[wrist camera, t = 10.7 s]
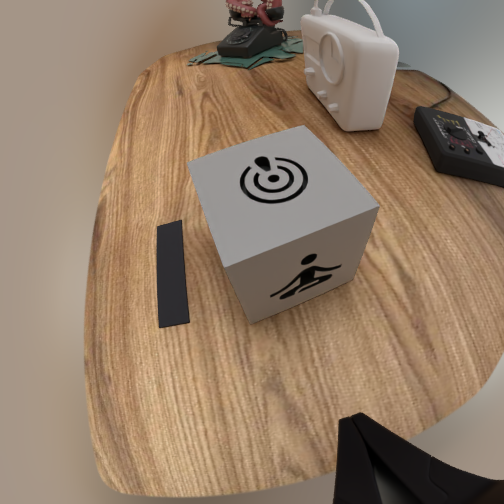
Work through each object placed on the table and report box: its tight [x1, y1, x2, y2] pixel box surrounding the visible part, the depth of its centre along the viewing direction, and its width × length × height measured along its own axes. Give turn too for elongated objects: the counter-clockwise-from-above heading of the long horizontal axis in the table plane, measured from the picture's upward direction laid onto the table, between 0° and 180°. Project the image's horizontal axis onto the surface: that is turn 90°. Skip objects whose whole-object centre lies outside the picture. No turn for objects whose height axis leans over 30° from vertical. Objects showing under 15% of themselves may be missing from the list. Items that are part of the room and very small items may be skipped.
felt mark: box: [157, 220, 190, 328], centre depth 27 cm, size 12×3×1 cm, turn 11°
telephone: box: [187, 0, 303, 70], centre depth 55 cm, size 35×32×20 cm
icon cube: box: [187, 125, 380, 324], centre depth 22 cm, size 10×10×10 cm
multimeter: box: [414, 106, 504, 187], centre depth 29 cm, size 13×19×5 cm
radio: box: [301, 0, 399, 131], centre depth 30 cm, size 22×8×25 cm, turn 9°
